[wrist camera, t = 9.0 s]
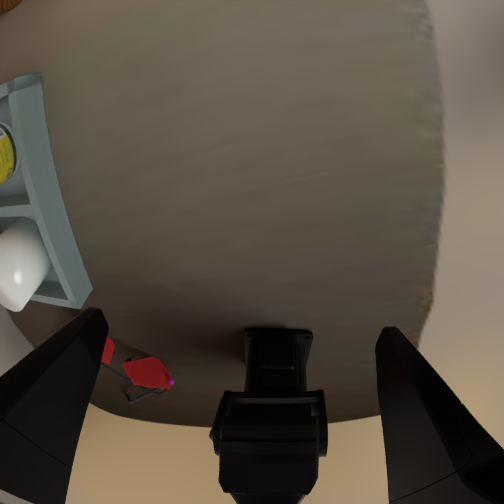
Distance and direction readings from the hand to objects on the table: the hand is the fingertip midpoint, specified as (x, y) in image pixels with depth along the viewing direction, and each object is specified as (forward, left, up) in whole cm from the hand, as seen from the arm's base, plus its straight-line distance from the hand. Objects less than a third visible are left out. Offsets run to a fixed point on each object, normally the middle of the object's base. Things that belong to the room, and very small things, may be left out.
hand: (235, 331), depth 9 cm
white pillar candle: (-6, +22, -12) cm, 26 cm away
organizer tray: (-1, +22, -13) cm, 26 cm away
